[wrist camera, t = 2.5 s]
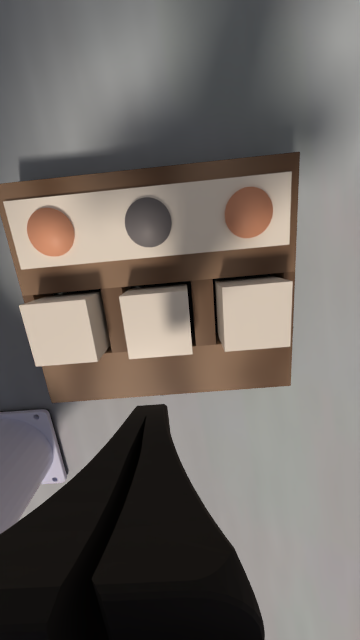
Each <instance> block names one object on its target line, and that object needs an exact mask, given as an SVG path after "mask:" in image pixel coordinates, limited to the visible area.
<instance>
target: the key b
mask: <svg viewBox="0 0 360 640" xmlns="http://www.w3.org/2000/svg"><path fill="white" fill-rule="evenodd" d="M119 300H120V306H121V312H122V319H123V325H124V331H125V337H126V343H127V349H128V356H129V359H139V358H152V357H165V356H178V355H190V354H193V352H192V340H191V328H190V316H189V304H188V292H187V284H179V285H167V286H156V287H145V288H134V289H129V290H128V291H126V292H125V293H123V294H122V295H121V296H119Z"/></svg>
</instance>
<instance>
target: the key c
mask: <svg viewBox="0 0 360 640" xmlns="http://www.w3.org/2000/svg"><path fill="white" fill-rule="evenodd" d="M215 284H216V304H217V324H218V336H219V339H220V341H221V344H222V346H223V348H224V351H225V352H229V351H241V350H254V349H267V348H279V347H290V341H291V314H292V288H293V281H290V280H286V279H283V278H279V277H275V276H268V277H257V278H246V279H235V280H223V281H215Z"/></svg>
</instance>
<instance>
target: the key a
mask: <svg viewBox="0 0 360 640" xmlns="http://www.w3.org/2000/svg"><path fill="white" fill-rule="evenodd" d="M19 308H20V311H21V315H22V319H23V322H24V326H25V329H26V333H27V336H28V340H29V344H30V347H31V351H32V354H33V358H34V361H35V365H36V367H38V366H50V365H63V364H76V363H89V362H98V361H99V360H100V358H101V357H102V356H103V354H104V353H105V352H106V350H107V349H108V348H109V346H110V345H111V344H110V338H109V333H108V327H107V322H106V316H105V311H104V305H103V300H102V294H101V291H100V292H89V293H78V294H66V295H55V296H46V297H43V298H40V299H37V300H34V301H31V302H28V303H25V304H22V305H19Z"/></svg>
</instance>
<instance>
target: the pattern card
mask: <svg viewBox="0 0 360 640" xmlns="http://www.w3.org/2000/svg"><path fill="white" fill-rule="evenodd" d="M291 179H292V171H291V172H282V173H272V174H263V175H253V176H243V177H234V178H224V179H215V180H205V181H195V182H186V183H176V184H167V185H157V186H147V187H138V188H128V189H119V190H109V191H99V192H90V193H80V194H70V195H61V196H51V197H42V198H32V199H22V200H13V201H3V203H4V207H5V211H6V215H7V218H8V222H9V226H10V230H11V233H12V237H13V241H14V245H15V249H16V252H17V256H18V260H19V264H20V267H21V270H22V269H33V268H44V267H54V266H65V265H76V264H87V263H97V262H108V261H119V260H129V259H140V258H151V257H161V256H172V255H183V254H194V253H204V252H215V251H226V250H236V249H247V248H258V247H268V246H279V245H289V241H290V210H291Z"/></svg>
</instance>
